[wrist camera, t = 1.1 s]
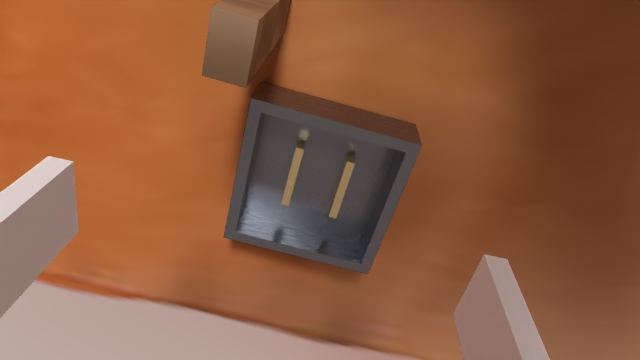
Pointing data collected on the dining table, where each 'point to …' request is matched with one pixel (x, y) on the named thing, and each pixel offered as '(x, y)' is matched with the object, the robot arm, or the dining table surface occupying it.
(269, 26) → the curved brown wooden bar
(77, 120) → the dining table surface
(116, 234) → the dining table surface
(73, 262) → the dining table surface
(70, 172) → the robot arm
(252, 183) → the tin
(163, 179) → the dining table surface
